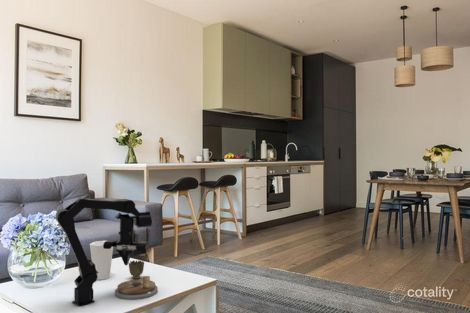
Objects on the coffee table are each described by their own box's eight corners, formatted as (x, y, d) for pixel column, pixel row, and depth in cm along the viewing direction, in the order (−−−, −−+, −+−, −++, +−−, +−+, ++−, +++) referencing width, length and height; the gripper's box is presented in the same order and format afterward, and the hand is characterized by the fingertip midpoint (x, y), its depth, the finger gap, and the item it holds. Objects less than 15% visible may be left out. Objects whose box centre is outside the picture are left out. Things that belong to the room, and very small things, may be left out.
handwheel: (109, 289, 174) (109, 275, 174) (138, 280, 187) (138, 267, 187) (134, 297, 165) (134, 282, 165) (162, 287, 178) (162, 273, 178)
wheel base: (132, 303, 163) (132, 298, 163) (106, 293, 174) (106, 289, 174) (166, 291, 177) (166, 287, 177) (140, 283, 188) (140, 279, 188)
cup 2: (140, 281, 192) (140, 264, 192) (125, 280, 194) (125, 263, 194) (146, 276, 200) (146, 260, 200) (132, 275, 201) (132, 259, 201)
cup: (108, 281, 192) (108, 245, 192) (87, 281, 192) (87, 245, 192) (115, 274, 203) (115, 240, 203) (95, 274, 203) (95, 240, 203)
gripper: (154, 226, 180) (153, 261, 179) (114, 225, 182) (113, 259, 182) (145, 230, 169) (144, 268, 168) (102, 229, 171) (102, 266, 171)
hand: (126, 265), depth 173 cm, fingers closed
